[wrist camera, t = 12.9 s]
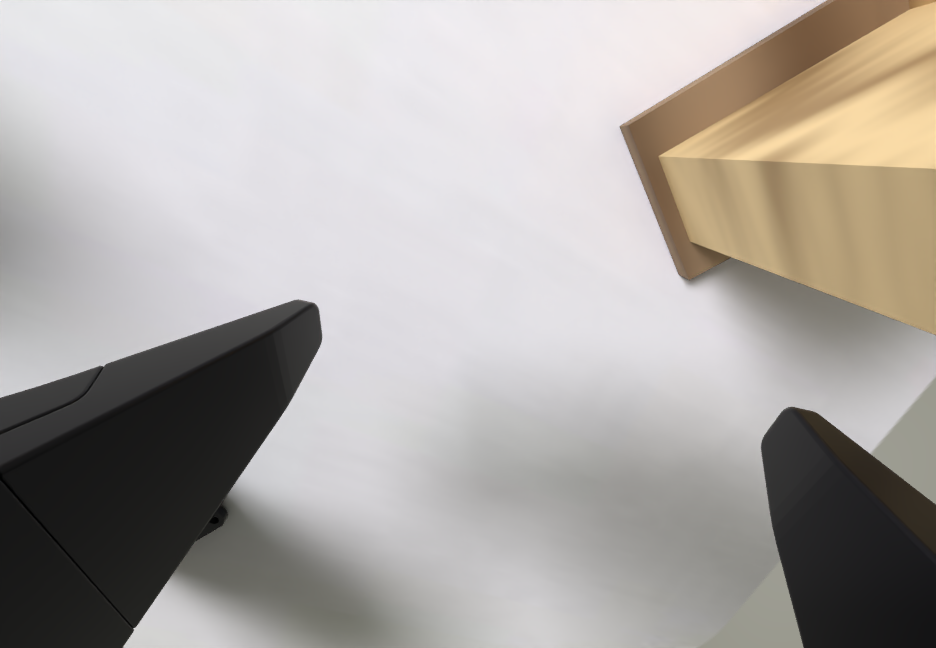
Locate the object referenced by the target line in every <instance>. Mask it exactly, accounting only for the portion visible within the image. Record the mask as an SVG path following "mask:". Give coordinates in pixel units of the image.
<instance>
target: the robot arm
mask: <svg viewBox="0 0 936 648" xmlns="http://www.w3.org/2000/svg"><path fill="white" fill-rule="evenodd" d="M321 341H322V330H321V322H320V314H319V309H318V306H317V305H316V304H315V303H312V302H307V301H303V300H294V301H291V302H288V303H285V304H282V305H279V306H276V307H273V308H270V309H267V310H264V311H261V312H258V313H255V314H252V315H249V316H246V317H243V318H240V319H238V320H235V321H232V322H229V323H226V324H223V325H220V326H217V327H214V328H211V329H208V330H205V331H202V332H199V333H196V334H193V335H190V336H187V337H184V338H181V339H179V340H176V341H173V342H170V343H167V344H164V345H161V346H158V347H155V348H152V349H149V350H146V351H143V352H140V353H137V354H134V355H131V356H128V357H125V358H123V359H120V360H117V361H114V362H111V363H108V364H106V365H105V366H104V367H103V366H98V367H96V368H93V369H90V370H87V371H84V372H81V373H78V374H75V375H72V376H69V377H66V378H63V379H60V380H57V381H54V382H51V383H47V384H44V385H41V386H38V387H35V388H32V389H28V390H25V391H22V392H18V393H15V394H12V395H8V396H5V397H2V398H0V648H123V646H124V645H125V643H126V642H127V640H128V639H129V637H130V636H131V634H132V633H133V631H134V629H133V628H135V627H136V626H137V625H138V624H139V622H140V621H141V619H142V618H143V616H144V615H145V613H146V612H147V610H148V609H149V608H150V606H151V605H152V603H153V602H154V600H155V599H156V597H157V596H158V594H159V593H160V592H161V590H162V589H163V587H164V586H165V584H166V583H167V581H168V580H169V578H170V577H171V576H172V574H173V573H174V571H175V570H176V568H177V567H178V565H179V564H180V562H181V561H182V560H183V558H184V557H185V555H186V554H187V552H188V551H189V549H190V548H191V546H192V545H193V544H194V542H195V541H197V540H198V539H200V538H202V537H204V536H205V535H207V534H209V533H210V532H212V531H214V530H216V529H217V528H219V527H221V526H222V525H223V524H224V522H225V521H226V519H227V517H228V513H227V511H226V510H225V509H224V508H223V507H222V506H221V505H220V504H221V503H222V501H223V500H224V498H225V497H226V496H227V494H228V493H229V491H230V490H231V488H232V487H233V485H234V484H235V482H236V481H237V480H238V478H239V477H240V475H241V474H242V472H243V471H244V469H245V468H246V466H247V465H248V464H249V462H250V461H251V459H252V458H253V456H254V455H255V453H256V452H257V450H258V449H259V448H260V446H261V445H262V443H263V442H264V440H265V439H266V437H267V436H268V434H269V433H270V432H271V430H272V429H273V427H274V426H275V424H276V423H277V421H278V420H279V418H280V417H281V416H282V414H283V413H284V411H285V409H286V408H287V406H288V405H289V403H290V401H291V400H292V398H293V396H294V394H295V392H296V391H297V389H298V387H299V385H300V383H301V381H302V379H303V377H304V376H305V374H306V372H307V370H308V368H309V366H310V364H311V362H312V361H313V359H314V357H315V355H316V353H317V351H318V349H319V347H320V345H321ZM761 452H762V459H763V466H764V473H765V480H766V487H767V494H768V501H769V509H770V515H771V521H772V527H773V531H774V536H775V540H776V544H777V548H778V552H779V555H780V559H781V563H782V567H783V571H784V574H785V578H786V582H787V586H788V589H789V594H790V597H791V601H792V605H793V609H794V613H795V616H796V620H797V624H798V628H799V632H800V636H801V639H802V643H803V647H804V648H936V505H935V504H934V503H933V502H932V501H930V500H929V499H928V498H926V497H925V496H924V495H923V494H921V493H920V492H919V491H917V490H916V489H915V488H913V487H912V486H911V485H910V484H908V483H907V482H906V481H904V480H903V479H902V478H901V477H899V476H898V475H897V474H895V473H894V472H893V471H891V470H890V469H889V468H888V467H886V466H885V465H884V464H882V463H881V462H880V461H879V460H877V459H876V458H875V457H873V456H872V455H871V454H869V453H868V452H867V451H866V450H864V449H863V448H862V447H860V446H859V445H858V444H857V443H855V442H854V441H853V440H851V439H850V438H849V437H847V436H846V435H845V434H844V433H842V432H841V431H840V430H838V429H837V428H836V427H835V426H833V425H832V424H831V423H829V422H828V421H827V420H825V419H824V418H823V417H822V416H820V415H819V414H818V413H816V412H813V411H809V410H805V409H800V408H796V407H788V408H786V409H784V410H783V411H782V412H781V414H780V415H779V416H778V418H777V419H776V420H775V422H774V423H773V424H772V426H771V427H770V428H769V430H768V431H767V432H766V434H765V435H764V437H763V439H762V443H761Z"/></svg>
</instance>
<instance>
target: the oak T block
mask: <svg viewBox="0 0 936 648" xmlns="http://www.w3.org/2000/svg"><path fill="white" fill-rule="evenodd" d="M909 7H910V10H908V11H906V12H904V13H903V14H901V15H899V16H898V17H896V18H894V19H892V20H891V21H889V22H887V23H886V24H884V25H882V26H880V27H879V28H877V29H875V30H874V31H872V32H870V33H869V34H867V35H865V36H863V37H862V38H860V39H858V40H857V41H855V42H853V43H851V44H850V45H848V46H846V47H845V48H843V49H841V50H839V51H838V52H836V53H834V54H833V55H831V56H829V57H827V58H826V59H824V60H822V61H821V62H819V63H817V64H815V65H814V66H812V67H810V68H809V69H807V70H805V71H803V72H802V73H800V74H798V75H797V76H795V77H793V78H792V79H790V80H788V81H786V82H785V83H783V84H781V85H780V86H778V87H776V88H774V89H773V90H771V91H769V92H768V93H766V94H764V95H762V96H761V97H759V98H757V99H756V100H754V101H752V102H750V103H749V104H747V105H745V106H744V107H742V108H740V109H738V110H737V111H735V112H733V113H732V114H730V115H728V116H727V117H725V118H723V119H721V120H720V121H718V122H716V123H715V124H713V125H711V126H709V127H708V128H706V129H704V130H703V131H701V132H699V133H697V134H696V135H694V136H692V137H691V138H689V139H687V140H685V141H684V142H682V143H680V144H679V145H677V146H675V147H673V148H672V149H670V150H668V151H667V152H665V153H663V154H661V155H660V156H658V157H659V160H660V162H661V165H662V168H663V170H664V173H665V176H666V178H667V181H668V184H669V186H670V189H671V192H672V194H673V197H674V200H675V202H676V205H677V208H678V210H679V213H680V216H681V219H682V221H683V224H684V227H685V229H686V232H687V235H688V237H689V240H690V242H693V243H695V244H698V245H700V246H703V247H706V248H708V249H711V250H714V251H716V252H719V253H722V254H724V255H727V256H729V257H732V258H735V259H737V260H740V261H743V262H745V263H748V264H750V265H753V266H756V267H758V268H761V269H764V270H766V271H769V272H771V273H774V274H777V275H779V276H782V277H785V278H787V279H790V280H793V281H795V282H798V283H800V284H803V285H806V286H808V287H811V288H814V289H816V290H819V291H821V292H824V293H827V294H829V295H832V296H835V297H837V298H840V299H842V300H845V301H848V302H850V303H853V304H856V305H858V306H861V307H863V308H866V309H869V310H871V311H874V312H877V313H879V314H882V315H885V316H887V317H890V318H892V319H895V320H898V321H900V322H903V323H906V324H908V325H911V326H913V327H916V328H919V329H921V330H924V331H927V332H929V333H932V334H934V335H936V0H909Z"/></svg>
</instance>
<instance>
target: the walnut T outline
mask: <svg viewBox="0 0 936 648" xmlns="http://www.w3.org/2000/svg"><path fill="white" fill-rule="evenodd" d="M908 10H910V7H909V0H827V1H825V2H824V3H822V4H820V5H819V6H817V7H815V8H814V9H812V10H810V11H809V12H807V13H806V14H804V15H802V16H801V17H799V18H797V19H796V20H794V21H792V22H791V23H789V24H787V25H786V26H784V27H782V28H781V29H779V30H778V31H776V32H774V33H773V34H771V35H769V36H768V37H766V38H764V39H763V40H761V41H759V42H758V43H756V44H754V45H753V46H751V47H750V48H748V49H746V50H745V51H743V52H741V53H740V54H738V55H736V56H735V57H733V58H731V59H730V60H728V61H726V62H725V63H723V64H722V65H720V66H718V67H717V68H715V69H713V70H712V71H710V72H708V73H707V74H705V75H703V76H702V77H700V78H698V79H697V80H695V81H694V82H692V83H690V84H689V85H687V86H685V87H684V88H682V89H680V90H679V91H677V92H675V93H674V94H672V95H670V96H669V97H667V98H666V99H664V100H662V101H661V102H659V103H657V104H656V105H654V106H652V107H651V108H649V109H647V110H646V111H644V112H642V113H641V114H639V115H638V116H636V117H634V118H633V119H631V120H629V121H628V122H626V123H624V124H623V125H621V126H620V129H621V131H622V134H623V136H624V139H625V141H626V144H627V146H628V149H629V151H630V154H631V156H632V159H633V161H634V164H635V166H636V169H637V171H638V174H639V176H640V179H641V181H642V184H643V186H644V189H645V191H646V194H647V196H648V199H649V201H650V204H651V206H652V209H653V211H654V214H655V216H656V219H657V221H658V224H659V226H660V229H661V231H662V234H663V236H664V239H665V241H666V244H667V246H668V249H669V251H670V254H671V256H672V259H673V261H674V264H675V266H676V269H677V271H678V274H679V275H681V276H682V277H684V278H686V279H688V280H690V279H692V278H694V277H696V276H697V275H699V274H701V273H703V272H705V271H707V270H709V269H710V268H712V267H714V266H716V265H718V264H720V263H722V262H724V261H725V260H727V259H729V258H731V257H729V256H727V255H724V254H722V253H719V252H716V251H714V250H711V249H708V248H706V247H703V246H700V245H698V244H695V243H693V242H690V240H689V237H688V235H687V232H686V229H685V227H684V224H683V221H682V219H681V216H680V213H679V210H678V208H677V205H676V202H675V200H674V197H673V194H672V192H671V189H670V186H669V184H668V181H667V178H666V176H665V173H664V170H663V168H662V165H661V162H660V160H659V157H658V156H660V155H661V154H663V153H665V152H667V151H668V150H670V149H672V148H673V147H675V146H677V145H679V144H680V143H682V142H684V141H685V140H687V139H689V138H691V137H692V136H694V135H696V134H697V133H699V132H701V131H703V130H704V129H706V128H708V127H709V126H711V125H713V124H715V123H716V122H718V121H720V120H721V119H723V118H725V117H727V116H728V115H730V114H732V113H733V112H735V111H737V110H738V109H740V108H742V107H744V106H745V105H747V104H749V103H750V102H752V101H754V100H756V99H757V98H759V97H761V96H762V95H764V94H766V93H768V92H769V91H771V90H773V89H774V88H776V87H778V86H780V85H781V84H783V83H785V82H786V81H788V80H790V79H792V78H793V77H795V76H797V75H798V74H800V73H802V72H803V71H805V70H807V69H809V68H810V67H812V66H814V65H815V64H817V63H819V62H821V61H822V60H824V59H826V58H827V57H829V56H831V55H833V54H834V53H836V52H838V51H839V50H841V49H843V48H845V47H846V46H848V45H850V44H851V43H853V42H855V41H857V40H858V39H860V38H862V37H863V36H865V35H867V34H869V33H870V32H872V31H874V30H875V29H877V28H879V27H880V26H882V25H884V24H886V23H887V22H889V21H891V20H892V19H894V18H896V17H898V16H899V15H901V14H903V13H904V12H906V11H908Z"/></svg>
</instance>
